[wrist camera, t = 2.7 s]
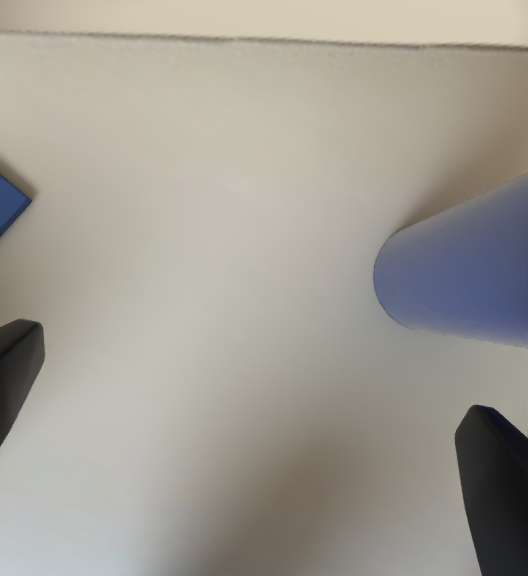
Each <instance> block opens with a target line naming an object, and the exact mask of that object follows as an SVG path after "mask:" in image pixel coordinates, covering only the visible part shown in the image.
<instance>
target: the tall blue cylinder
mask: <svg viewBox="0 0 528 576" xmlns="http://www.w3.org/2000/svg"><path fill="white" fill-rule="evenodd" d="M373 275H374V287H375V291H376V295H377V297H378V300H379V302H380V304H381V305H382V307H383V309H384V310H385V311H386V312H387V314H388V315H389V316H390V317H391V318H392V319H394V320H395V321H396V322H398V323H399V324H401V325H403V326H404V327H407V328H409V329H412V330H416V331H421V332H427V333H433V334H440V335H446V336H452V337H459V338H465V339H471V340H478V341H484V342H490V343H496V344H503V345H509V346H515V347H522V348H528V172H527V173H525V174H523V175H520V176H518V177H516V178H514V179H512V180H509V181H507V182H505V183H503V184H501V185H498V186H496V187H494V188H492V189H489V190H487V191H485V192H483V193H481V194H478V195H476V196H474V197H472V198H470V199H467V200H465V201H463V202H461V203H458V204H456V205H454V206H452V207H450V208H447V209H445V210H443V211H441V212H438V213H436V214H434V215H432V216H430V217H427V218H425V219H423V220H421V221H419V222H416V223H414V224H412V225H410V226H407V227H405V228H403V229H401V230H400V231H398V232H396V233H395V234H394V235H392V236H391V237H390V238H389V239H388V240H387V241H386V243H385V244H384V245H383V247H382V248H381V250H380V252H379V254H378V256H377V259H376V262H375V266H374V274H373Z"/></svg>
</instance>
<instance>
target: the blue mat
mask: <svg viewBox="0 0 528 576" xmlns="http://www.w3.org/2000/svg"><path fill="white" fill-rule="evenodd" d="M31 202H32V201H31V200H30V199H29V198H28V197H27V196H26V195H25V194H23V193H22V192H21V191H20V190H19V189H18V188H16V187H15V186H14V185H13V184H12V183H10V182H9V181H8V180H7V179H6V178H5V177H3V176H2V175H1V174H0V236H1V235H2V234H3V233H4V232H5V230H6V229H7V228H8V227H9V226H10V225H11V224H12V223H13V222H14V221H15V219H16V218H17V217H18V216H19V215H20V214H21V213H22V212H23V211H24V210H25V208H26V207H27V206H28V205H29V204H30V203H31Z"/></svg>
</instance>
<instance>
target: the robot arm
mask: <svg viewBox="0 0 528 576" xmlns="http://www.w3.org/2000/svg"><path fill="white" fill-rule="evenodd" d="M44 358H45V347H44V333H43V326H42V324H41V323H39V322H37V321H31V320H26V319H18V320H15V321H13V322H11V323H8V324H6V325H4V326H2V327H0V446H1V445H2V443H3V441H4V440H5V438H6V436H7V435H8V433H9V431H10V430H11V428H12V426H13V424H14V422H15V420H16V418H17V416H18V414H19V412H20V410H21V408H22V406H23V404H24V402H25V400H26V398H27V396H28V394H29V392H30V390H31V387H32V385H33V383H34V381H35V379H36V377H37V375H38V373H39V371H40V369H41V367H42V365H43V362H44ZM455 446H456V453H457V460H458V466H459V473H460V480H461V486H462V493H463V500H464V505H465V511H466V515H467V519H468V523H469V527H470V531H471V535H472V539H473V543H474V547H475V550H476V554H477V558H478V562H479V566H480V570H481V574H482V576H528V438H527V437H526V436H525V435H524V434H523V433H521V432H520V431H519V430H518V429H517V428H516V427H515V426H514V425H512V424H511V423H510V422H509V421H508V420H507V419H506V418H505V417H503V416H502V415H501V414H500V413H499V412H498V411H497V410H495V409H494V408H491V407H487V406H482V405H473V406H471V407H470V409H469V410H468V412H467V413H466V415H465V417H464V418H463V420H462V422H461V423H460V425H459V427H458V428H457V430H456V433H455Z"/></svg>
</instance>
